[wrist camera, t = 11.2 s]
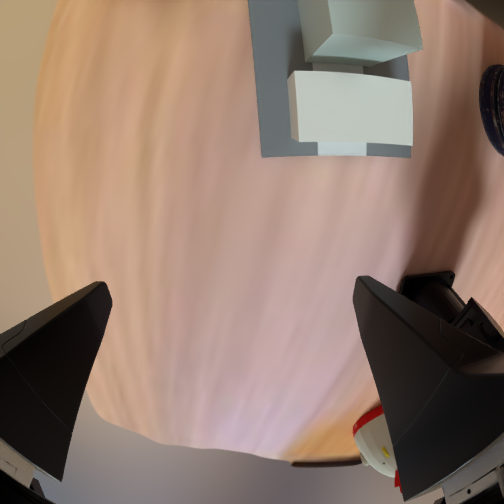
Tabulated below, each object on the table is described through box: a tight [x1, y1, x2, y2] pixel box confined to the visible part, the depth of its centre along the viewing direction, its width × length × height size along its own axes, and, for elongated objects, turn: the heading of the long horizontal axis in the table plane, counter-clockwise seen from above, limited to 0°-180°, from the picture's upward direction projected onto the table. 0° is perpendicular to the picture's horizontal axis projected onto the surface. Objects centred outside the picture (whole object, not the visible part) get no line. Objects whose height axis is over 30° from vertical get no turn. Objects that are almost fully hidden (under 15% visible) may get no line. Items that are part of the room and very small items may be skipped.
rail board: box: [248, 0, 413, 158], centre depth 12 cm, size 11×20×4 cm, turn 4°
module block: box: [297, 0, 423, 67], centre depth 10 cm, size 4×7×7 cm, turn 5°
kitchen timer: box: [353, 405, 402, 493], centre depth 29 cm, size 14×14×15 cm
